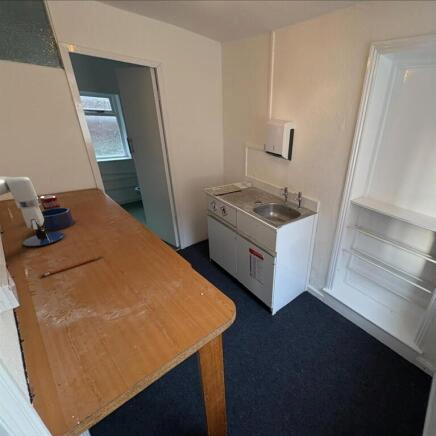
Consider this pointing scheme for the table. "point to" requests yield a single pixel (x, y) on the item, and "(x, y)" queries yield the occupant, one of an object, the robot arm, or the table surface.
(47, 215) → the pot
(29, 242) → the lid
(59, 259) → the table surface
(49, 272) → the pencil
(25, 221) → the robot arm
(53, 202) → the soda can
